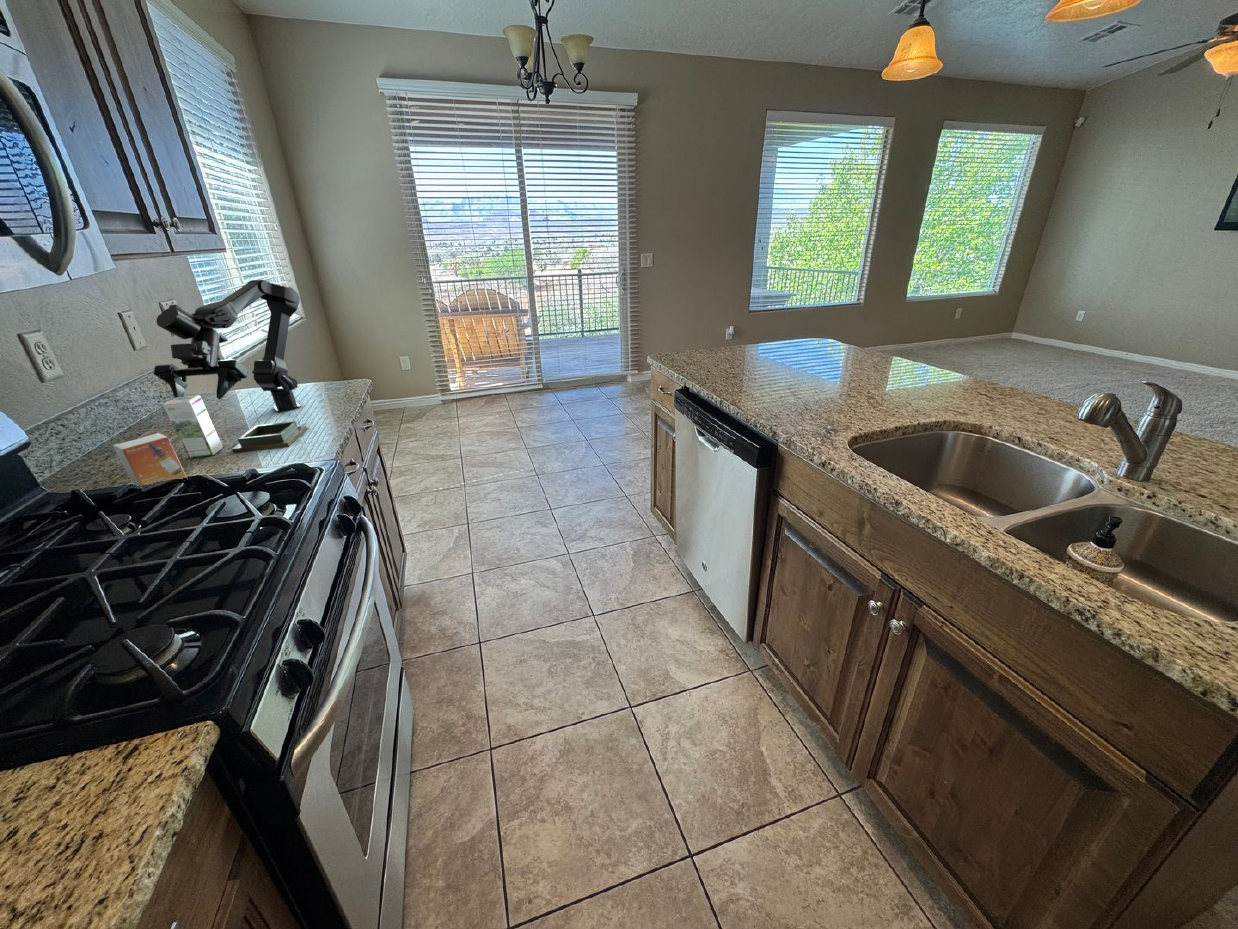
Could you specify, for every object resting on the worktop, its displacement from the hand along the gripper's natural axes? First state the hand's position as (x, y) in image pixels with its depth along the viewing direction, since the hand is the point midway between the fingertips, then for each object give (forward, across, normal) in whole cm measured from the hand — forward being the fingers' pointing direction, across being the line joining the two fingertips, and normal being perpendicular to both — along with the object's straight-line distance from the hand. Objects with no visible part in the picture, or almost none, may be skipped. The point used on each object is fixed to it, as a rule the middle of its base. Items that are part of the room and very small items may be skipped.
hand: (198, 400), depth 124 cm
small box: (+25, 0, -8) cm, 26 cm away
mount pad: (+10, +14, +8) cm, 18 cm away
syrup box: (+13, 0, +5) cm, 14 cm away
